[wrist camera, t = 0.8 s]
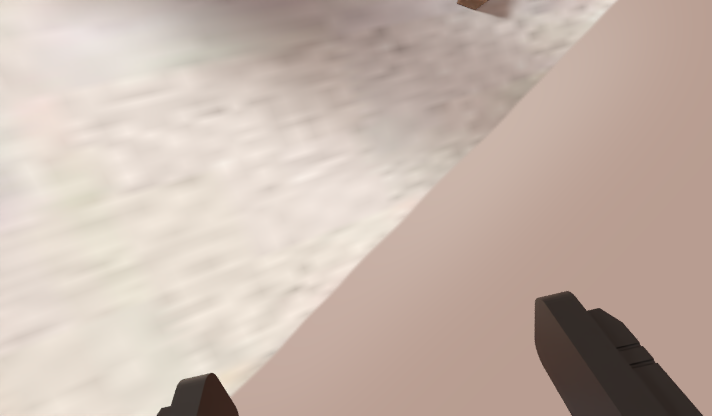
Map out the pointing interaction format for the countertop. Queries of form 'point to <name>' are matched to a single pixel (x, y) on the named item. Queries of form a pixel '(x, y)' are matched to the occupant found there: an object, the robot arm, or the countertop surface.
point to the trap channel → (472, 3)
